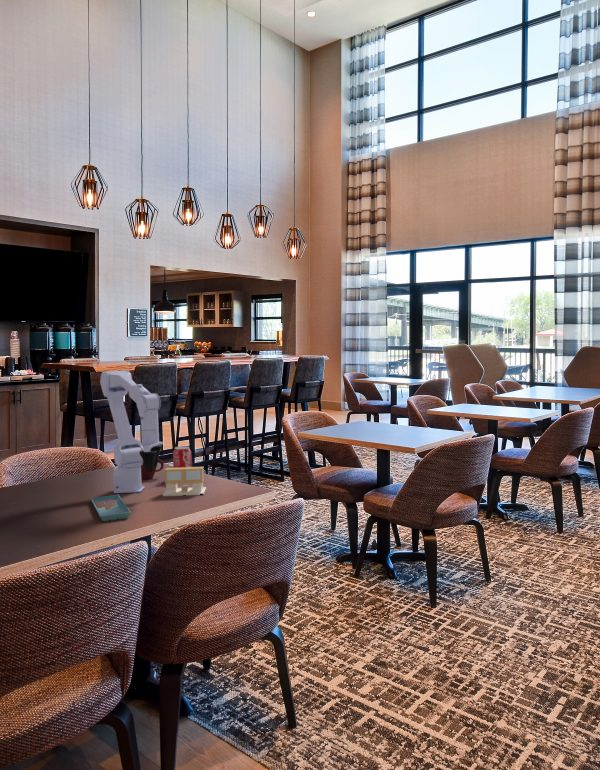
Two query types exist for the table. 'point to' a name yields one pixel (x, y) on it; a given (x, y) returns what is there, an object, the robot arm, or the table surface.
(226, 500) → the table surface
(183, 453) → the soda can
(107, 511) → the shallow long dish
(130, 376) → the robot arm
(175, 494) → the display stand
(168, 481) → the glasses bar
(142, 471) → the mug
